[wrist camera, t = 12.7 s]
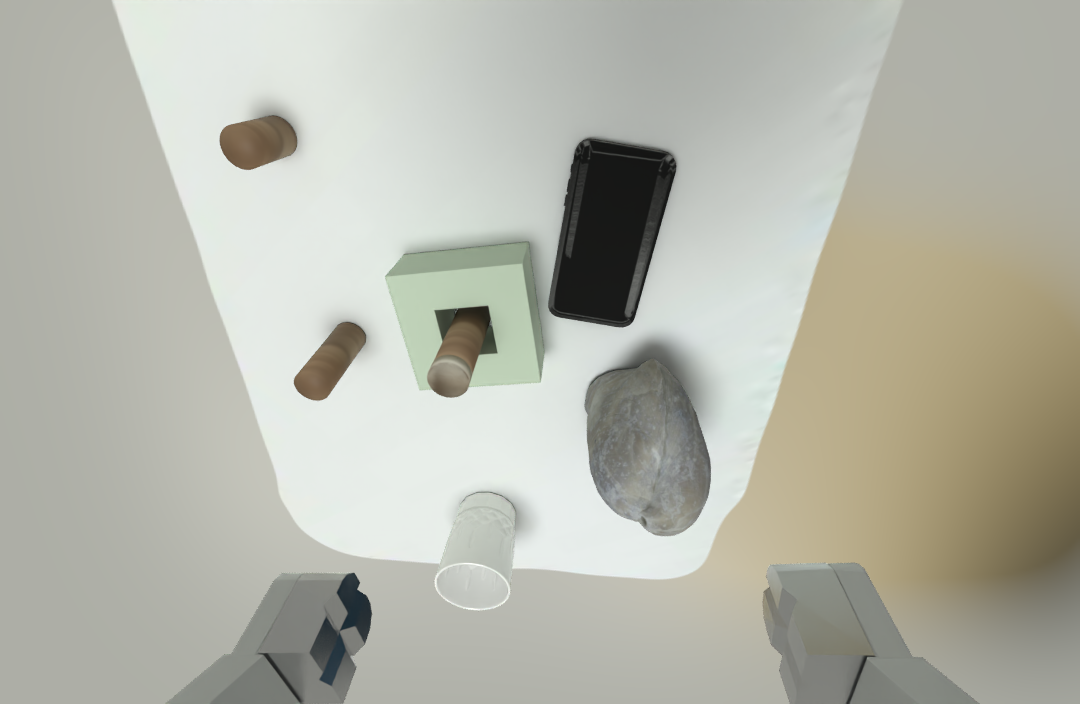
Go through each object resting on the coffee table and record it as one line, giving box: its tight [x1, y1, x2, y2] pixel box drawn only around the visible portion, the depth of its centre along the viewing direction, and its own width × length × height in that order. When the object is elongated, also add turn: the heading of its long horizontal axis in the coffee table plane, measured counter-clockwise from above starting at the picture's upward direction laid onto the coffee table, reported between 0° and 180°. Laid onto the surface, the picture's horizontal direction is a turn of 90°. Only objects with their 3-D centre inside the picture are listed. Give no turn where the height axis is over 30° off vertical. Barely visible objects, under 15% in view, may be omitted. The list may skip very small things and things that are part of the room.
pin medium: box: [294, 323, 366, 400], centre depth 45 cm, size 3×3×8 cm
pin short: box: [220, 116, 297, 170], centre depth 37 cm, size 3×3×5 cm
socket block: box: [385, 242, 544, 390], centre depth 44 cm, size 11×11×5 cm
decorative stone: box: [585, 359, 711, 536], centre depth 44 cm, size 15×10×15 cm
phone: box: [548, 139, 676, 327], centre depth 42 cm, size 8×1×15 cm
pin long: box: [427, 306, 491, 398], centre depth 41 cm, size 3×3×12 cm
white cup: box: [434, 492, 516, 610], centre depth 56 cm, size 8×8×10 cm
